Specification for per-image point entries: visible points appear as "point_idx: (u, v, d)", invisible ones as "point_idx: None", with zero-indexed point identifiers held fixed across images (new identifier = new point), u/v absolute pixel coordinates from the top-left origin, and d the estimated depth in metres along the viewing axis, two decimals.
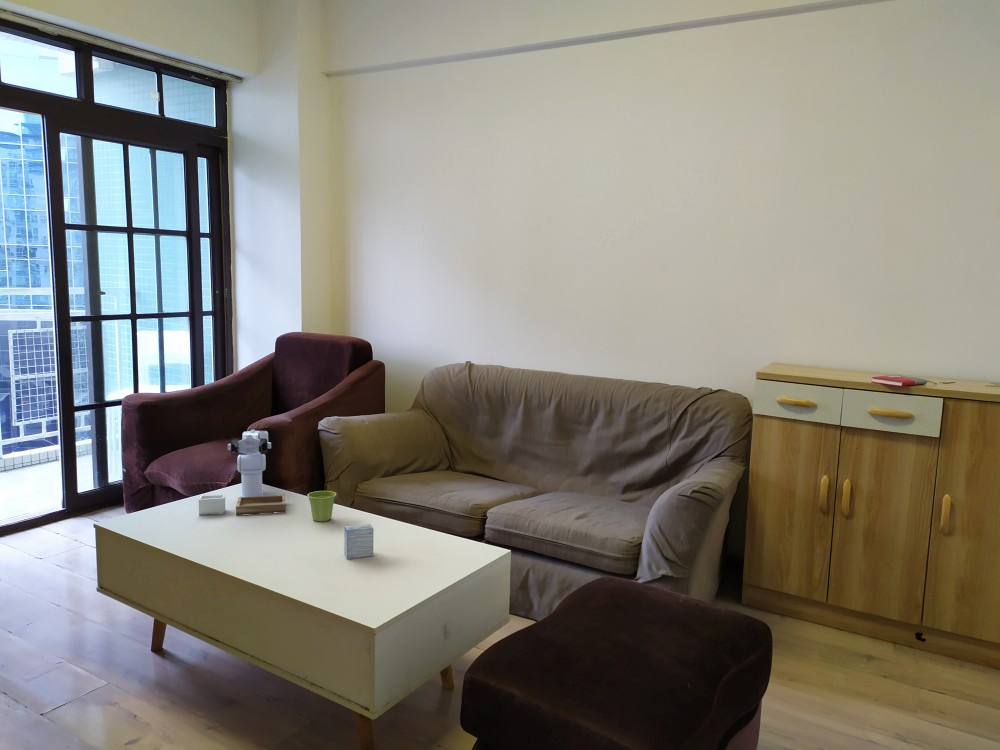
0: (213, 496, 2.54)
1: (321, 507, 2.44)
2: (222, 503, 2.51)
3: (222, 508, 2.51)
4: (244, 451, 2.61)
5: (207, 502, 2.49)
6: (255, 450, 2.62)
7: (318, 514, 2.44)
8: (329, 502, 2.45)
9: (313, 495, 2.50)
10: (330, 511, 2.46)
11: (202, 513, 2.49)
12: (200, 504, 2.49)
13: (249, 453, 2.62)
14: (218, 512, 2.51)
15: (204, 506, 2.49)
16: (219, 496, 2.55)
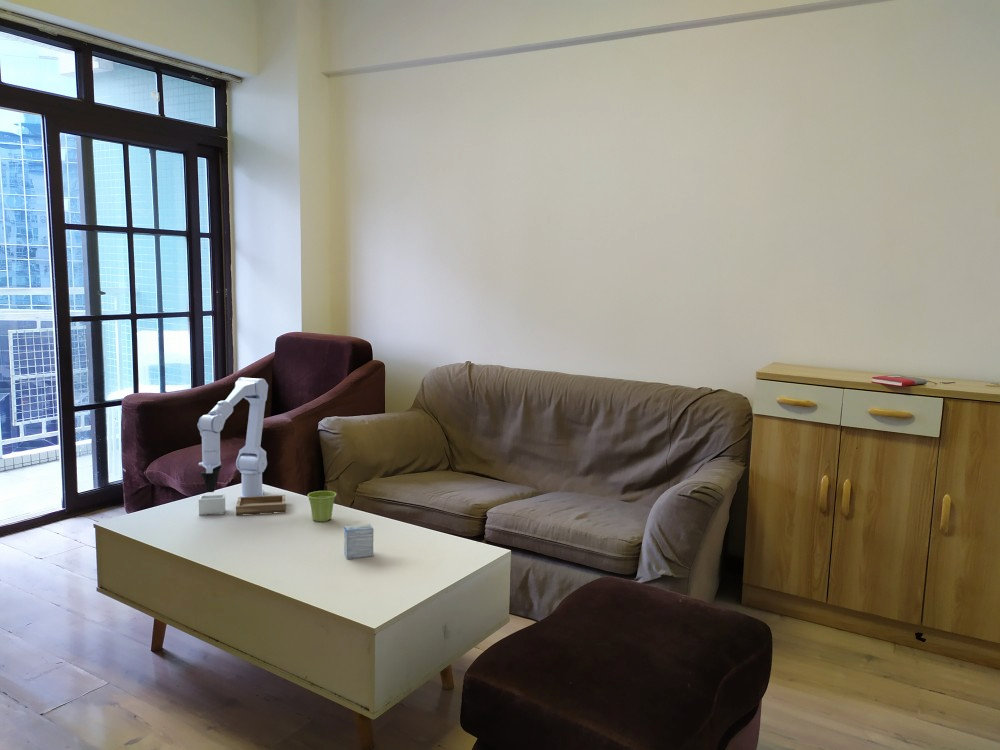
0: (213, 496, 2.54)
1: (321, 507, 2.44)
2: (222, 503, 2.51)
3: (222, 508, 2.51)
4: None
5: (207, 502, 2.49)
6: None
7: (318, 514, 2.44)
8: (329, 502, 2.45)
9: (313, 495, 2.50)
10: (330, 511, 2.46)
11: (202, 513, 2.49)
12: (200, 504, 2.49)
13: None
14: (218, 512, 2.51)
15: (204, 506, 2.49)
16: (219, 496, 2.55)
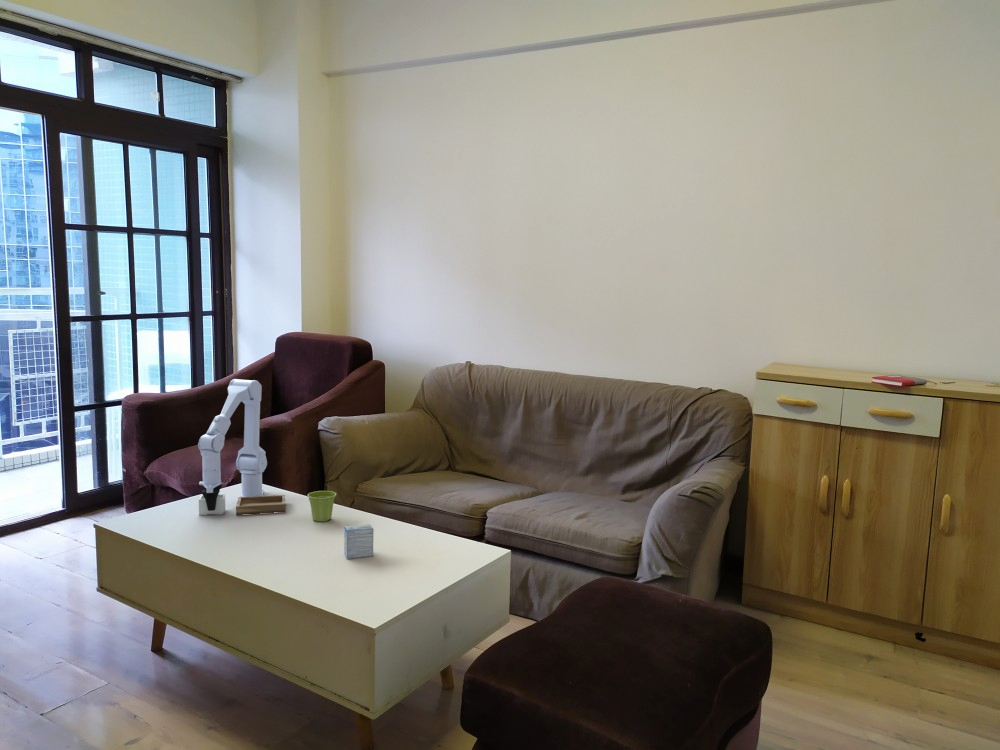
0: None
1: (321, 507, 2.44)
2: (222, 503, 2.51)
3: (222, 508, 2.51)
4: None
5: None
6: None
7: (318, 514, 2.44)
8: (329, 502, 2.45)
9: (313, 495, 2.50)
10: (330, 511, 2.46)
11: (202, 513, 2.49)
12: (200, 504, 2.49)
13: None
14: (218, 512, 2.51)
15: (204, 506, 2.49)
16: (219, 496, 2.55)
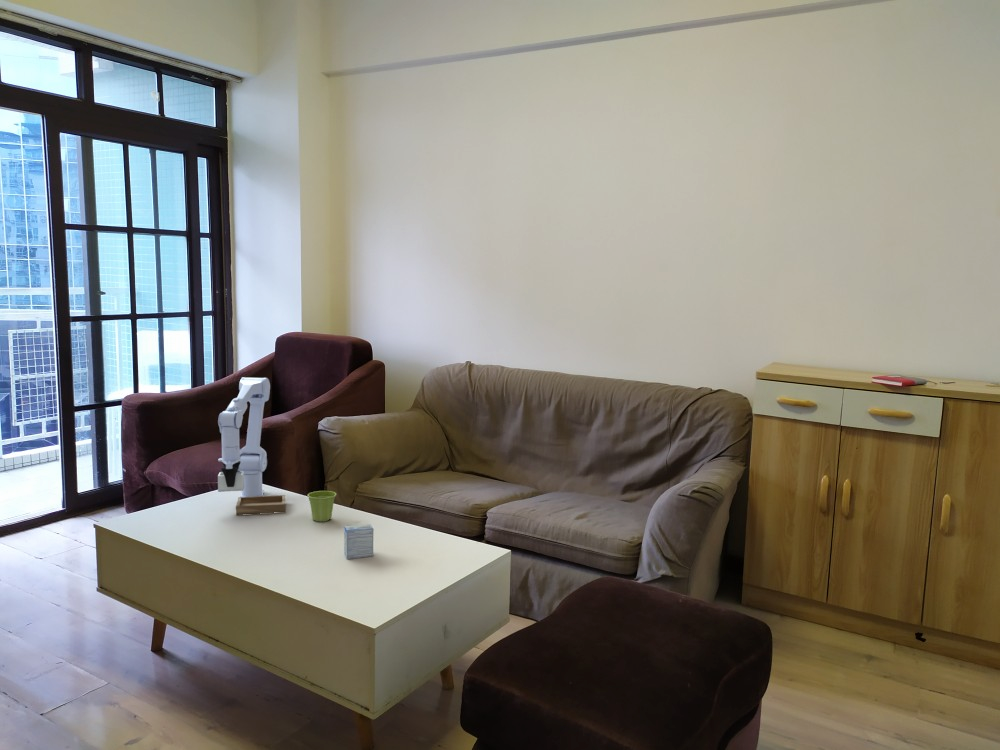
0: None
1: (321, 507, 2.44)
2: (241, 480, 2.52)
3: (241, 485, 2.52)
4: None
5: None
6: None
7: (318, 514, 2.44)
8: (329, 502, 2.45)
9: (313, 495, 2.50)
10: (330, 511, 2.46)
11: (221, 489, 2.51)
12: (219, 480, 2.50)
13: None
14: (237, 489, 2.52)
15: (223, 482, 2.51)
16: (238, 473, 2.56)
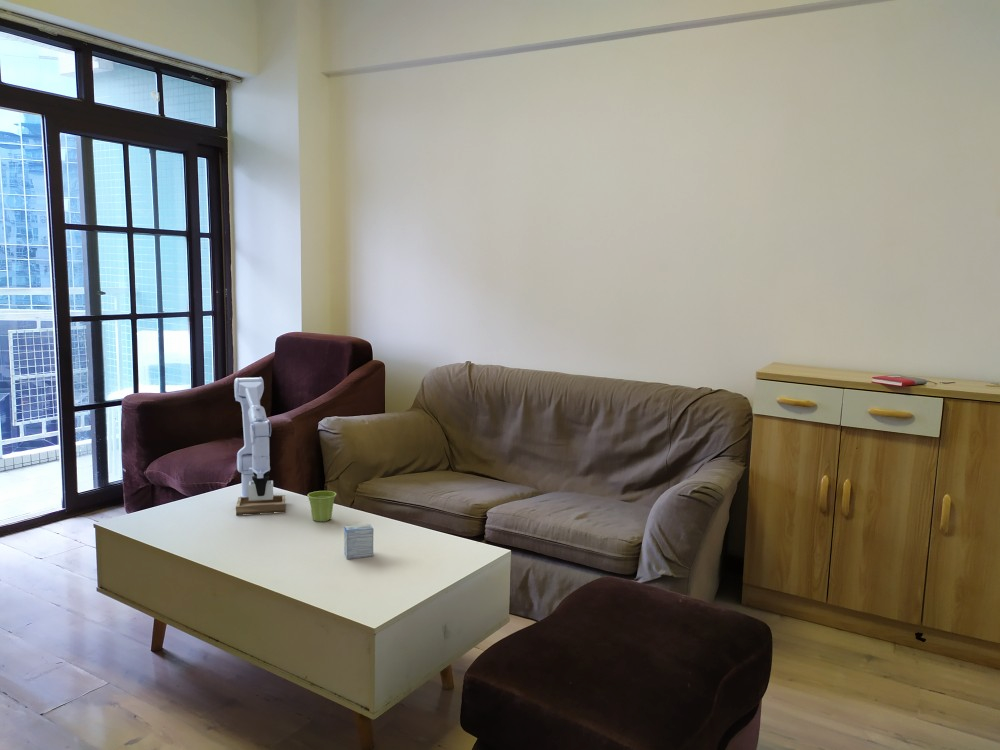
0: None
1: (321, 507, 2.44)
2: (271, 489, 2.56)
3: (271, 494, 2.56)
4: None
5: None
6: None
7: (318, 514, 2.44)
8: (329, 502, 2.45)
9: (313, 495, 2.50)
10: (330, 511, 2.46)
11: (251, 499, 2.54)
12: (250, 489, 2.54)
13: None
14: (267, 498, 2.56)
15: (253, 492, 2.54)
16: (267, 482, 2.59)
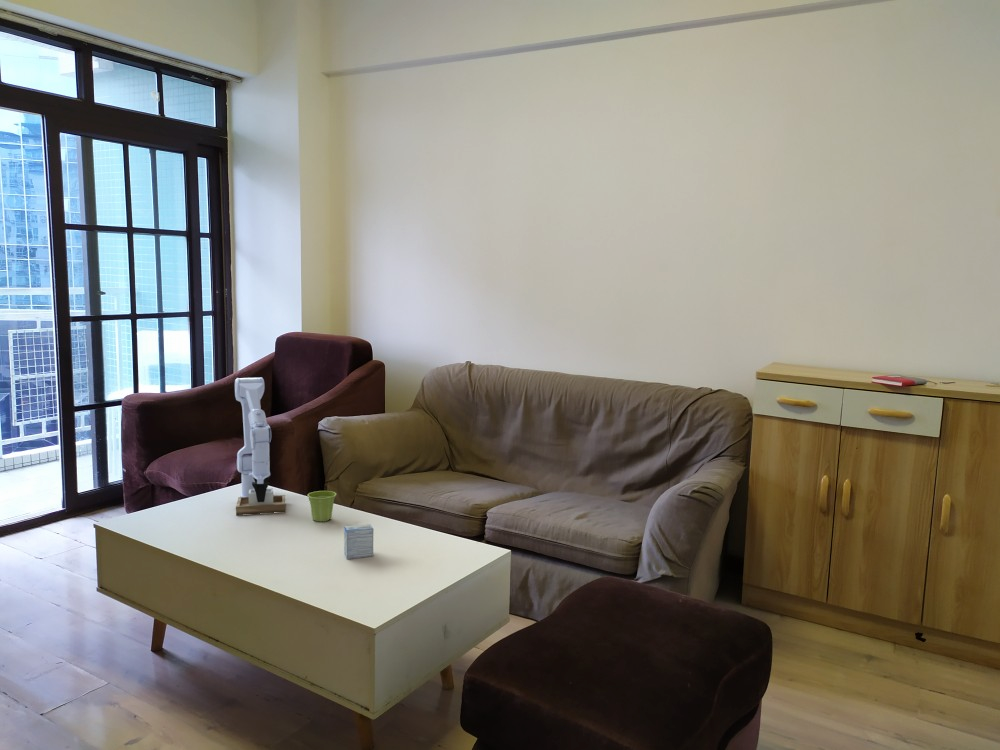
0: None
1: (321, 507, 2.44)
2: (271, 497, 2.56)
3: (271, 502, 2.56)
4: None
5: None
6: None
7: (318, 514, 2.44)
8: (329, 502, 2.45)
9: (313, 495, 2.50)
10: (330, 511, 2.46)
11: None
12: (250, 497, 2.54)
13: None
14: None
15: (254, 500, 2.55)
16: (267, 490, 2.60)
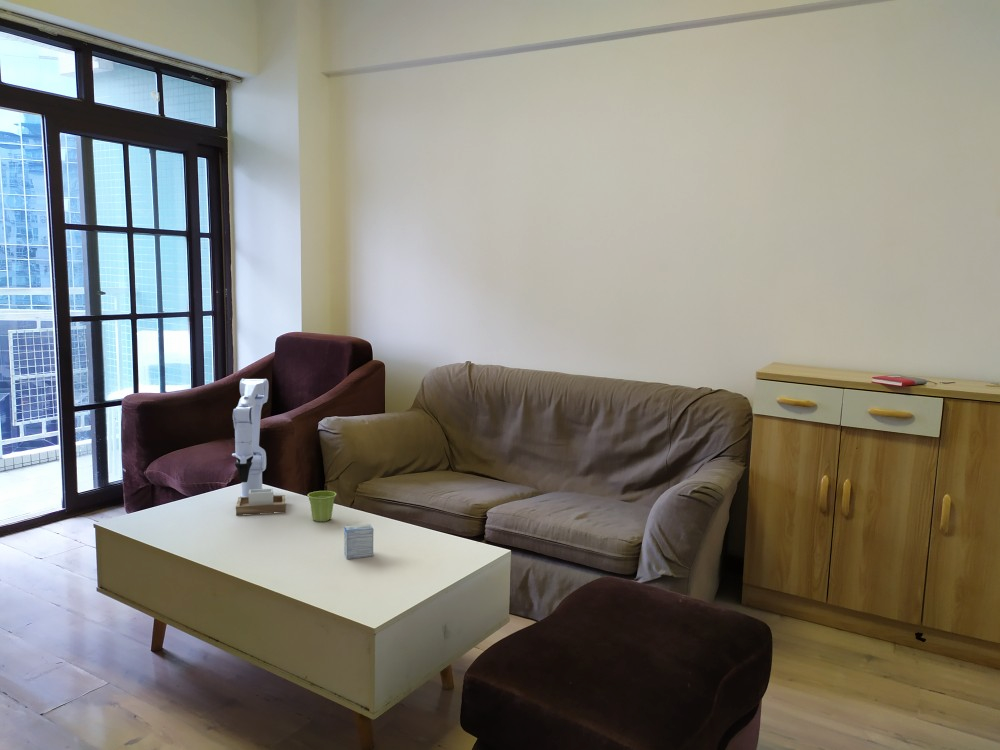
0: (261, 490, 2.59)
1: (321, 507, 2.44)
2: (271, 497, 2.56)
3: (271, 502, 2.56)
4: None
5: (256, 496, 2.55)
6: None
7: (318, 514, 2.44)
8: (329, 502, 2.45)
9: (313, 495, 2.50)
10: (330, 511, 2.46)
11: None
12: (250, 497, 2.54)
13: None
14: None
15: (254, 500, 2.55)
16: (267, 490, 2.60)
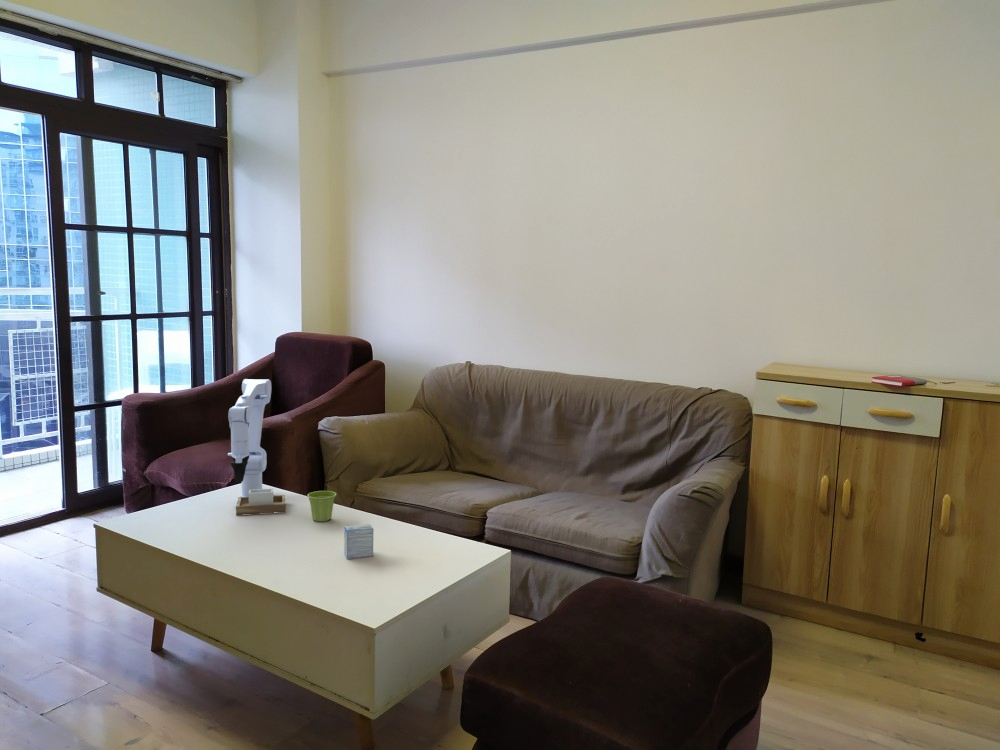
0: (261, 490, 2.59)
1: (321, 507, 2.44)
2: (271, 497, 2.56)
3: (271, 502, 2.56)
4: None
5: (256, 496, 2.55)
6: None
7: (318, 514, 2.44)
8: (329, 502, 2.45)
9: (313, 495, 2.50)
10: (330, 511, 2.46)
11: None
12: (250, 497, 2.54)
13: None
14: None
15: (254, 500, 2.55)
16: (267, 490, 2.60)
